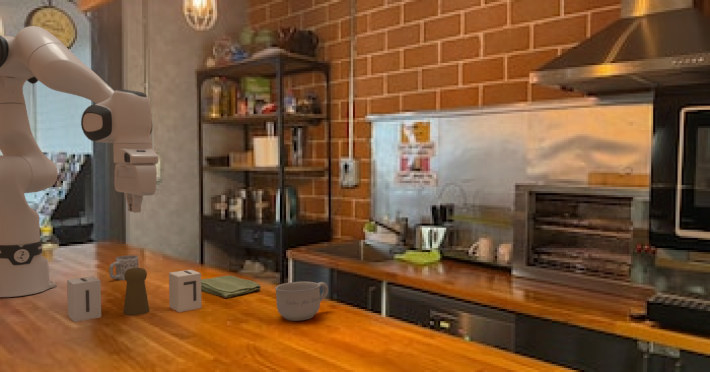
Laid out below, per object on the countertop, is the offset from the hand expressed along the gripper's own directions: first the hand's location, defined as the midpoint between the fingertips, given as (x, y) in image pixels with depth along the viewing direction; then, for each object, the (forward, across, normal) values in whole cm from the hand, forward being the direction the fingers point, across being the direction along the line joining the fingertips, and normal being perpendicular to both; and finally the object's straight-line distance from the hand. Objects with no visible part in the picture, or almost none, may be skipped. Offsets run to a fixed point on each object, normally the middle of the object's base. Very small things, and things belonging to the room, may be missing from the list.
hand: (134, 211), depth 135 cm
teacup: (+25, +30, +30) cm, 49 cm away
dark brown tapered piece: (+25, 0, 0) cm, 25 cm away
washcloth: (+26, -6, +28) cm, 38 cm away
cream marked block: (+25, +4, +11) cm, 28 cm away
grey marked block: (+25, -4, -11) cm, 28 cm away
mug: (+25, -40, +9) cm, 48 cm away
